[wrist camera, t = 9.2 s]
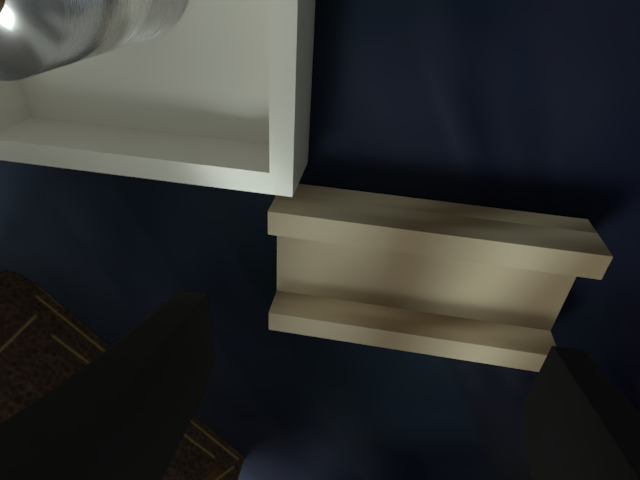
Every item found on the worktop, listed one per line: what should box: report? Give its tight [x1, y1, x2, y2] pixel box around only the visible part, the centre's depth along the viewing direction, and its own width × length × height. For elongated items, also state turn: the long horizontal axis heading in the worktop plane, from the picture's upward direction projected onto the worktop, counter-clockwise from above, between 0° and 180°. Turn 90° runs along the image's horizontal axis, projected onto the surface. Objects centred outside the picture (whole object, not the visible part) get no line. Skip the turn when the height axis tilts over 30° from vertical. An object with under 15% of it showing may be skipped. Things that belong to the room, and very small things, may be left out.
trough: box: [268, 184, 613, 372], centre depth 18 cm, size 12×6×2 cm, turn 87°
